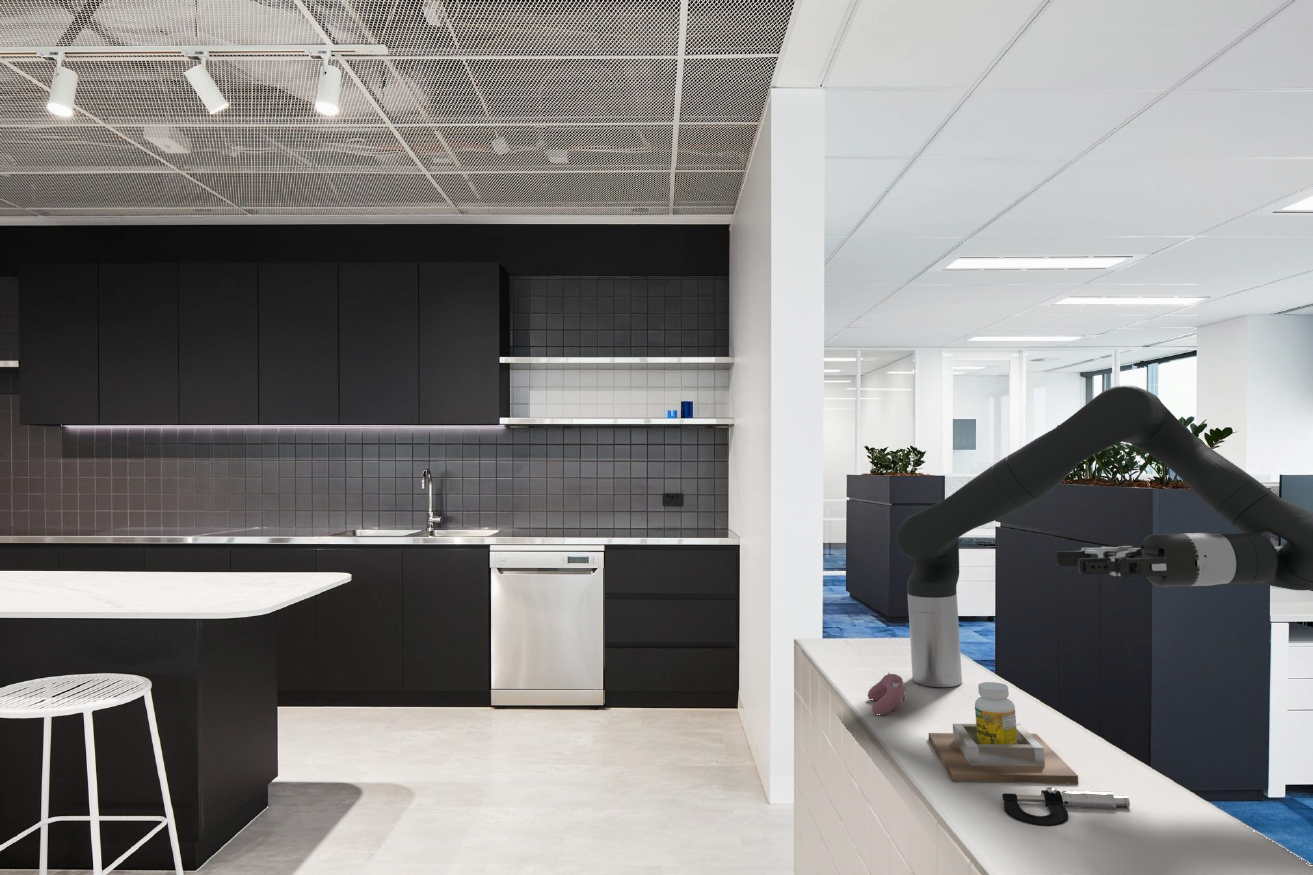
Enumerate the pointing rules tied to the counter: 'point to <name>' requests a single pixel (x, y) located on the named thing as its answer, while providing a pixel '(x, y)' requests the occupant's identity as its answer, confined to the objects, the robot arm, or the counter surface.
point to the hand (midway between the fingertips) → (1067, 562)
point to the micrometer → (1060, 804)
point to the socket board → (999, 758)
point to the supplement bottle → (995, 715)
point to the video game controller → (887, 694)
